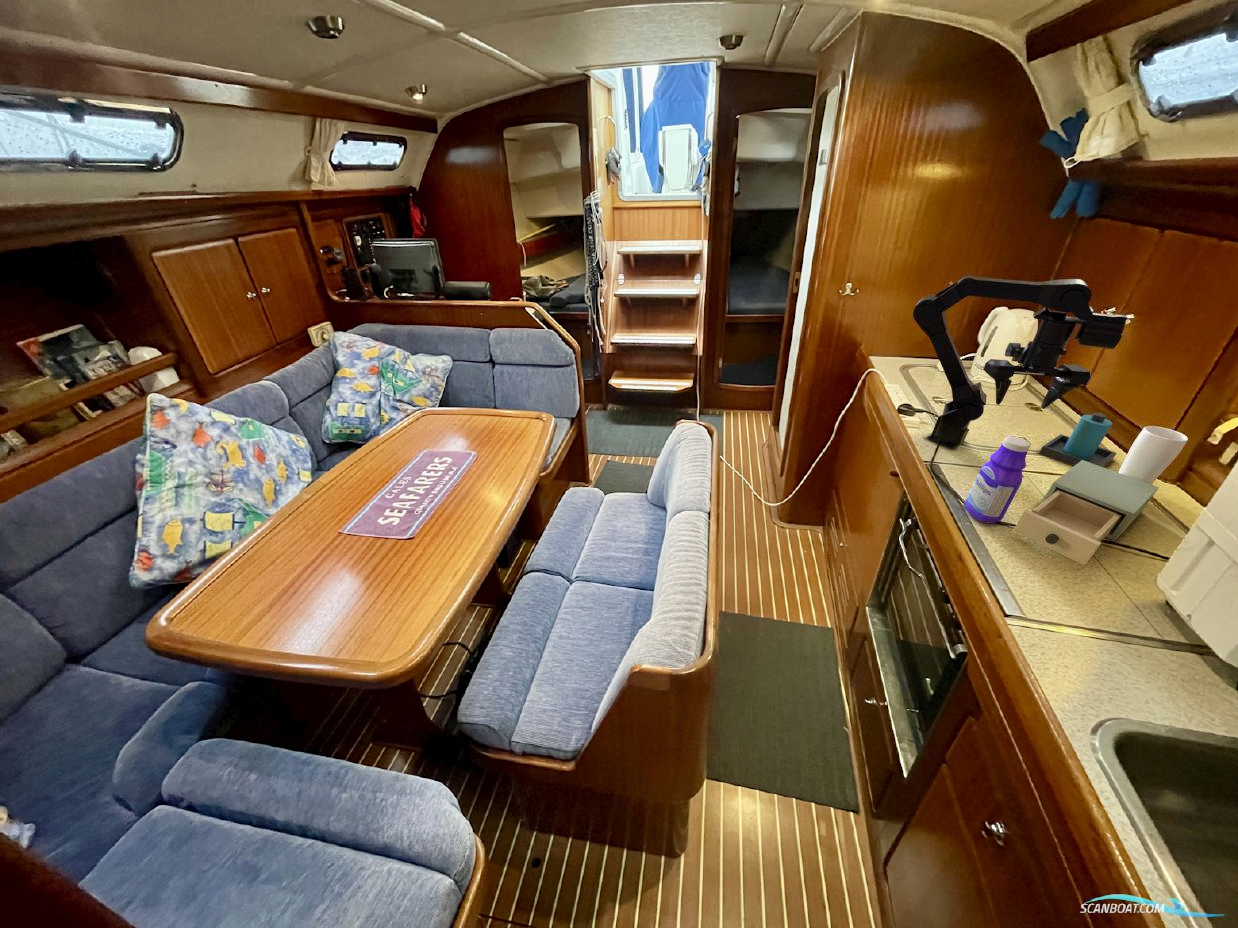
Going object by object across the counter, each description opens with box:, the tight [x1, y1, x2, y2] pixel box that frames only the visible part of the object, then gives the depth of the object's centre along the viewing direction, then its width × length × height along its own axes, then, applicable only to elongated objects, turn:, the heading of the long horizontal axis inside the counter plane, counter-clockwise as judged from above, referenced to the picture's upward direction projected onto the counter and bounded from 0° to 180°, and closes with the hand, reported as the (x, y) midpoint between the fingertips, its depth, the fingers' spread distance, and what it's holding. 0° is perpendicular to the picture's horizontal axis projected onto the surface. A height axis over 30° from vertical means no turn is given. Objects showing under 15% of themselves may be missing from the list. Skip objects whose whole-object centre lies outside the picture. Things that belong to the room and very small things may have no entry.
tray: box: [1038, 433, 1118, 468], centre depth 119 cm, size 11×11×2 cm
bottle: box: [964, 435, 1032, 524], centre depth 95 cm, size 7×6×17 cm
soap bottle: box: [1062, 412, 1113, 460], centre depth 116 cm, size 6×6×11 cm
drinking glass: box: [1117, 425, 1189, 485], centre depth 103 cm, size 7×7×15 cm
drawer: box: [1012, 490, 1121, 566], centre depth 92 cm, size 16×11×5 cm
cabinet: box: [1041, 460, 1160, 541], centre depth 99 cm, size 16×13×7 cm
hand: (1019, 406), depth 114 cm, fingers open, 9 cm apart
